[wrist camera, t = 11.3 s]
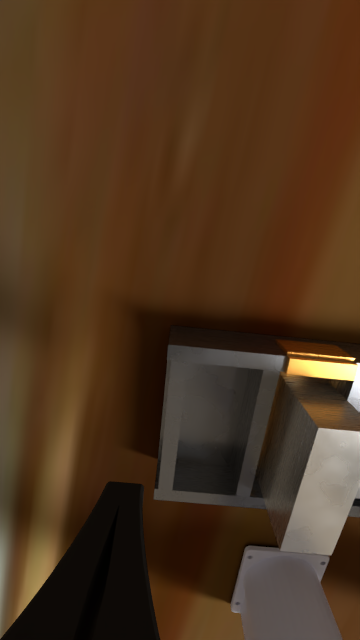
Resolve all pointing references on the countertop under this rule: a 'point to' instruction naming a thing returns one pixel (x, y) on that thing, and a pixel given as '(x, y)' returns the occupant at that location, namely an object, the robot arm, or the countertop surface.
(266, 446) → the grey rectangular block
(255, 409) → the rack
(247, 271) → the countertop surface
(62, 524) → the countertop surface
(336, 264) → the countertop surface
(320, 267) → the countertop surface
